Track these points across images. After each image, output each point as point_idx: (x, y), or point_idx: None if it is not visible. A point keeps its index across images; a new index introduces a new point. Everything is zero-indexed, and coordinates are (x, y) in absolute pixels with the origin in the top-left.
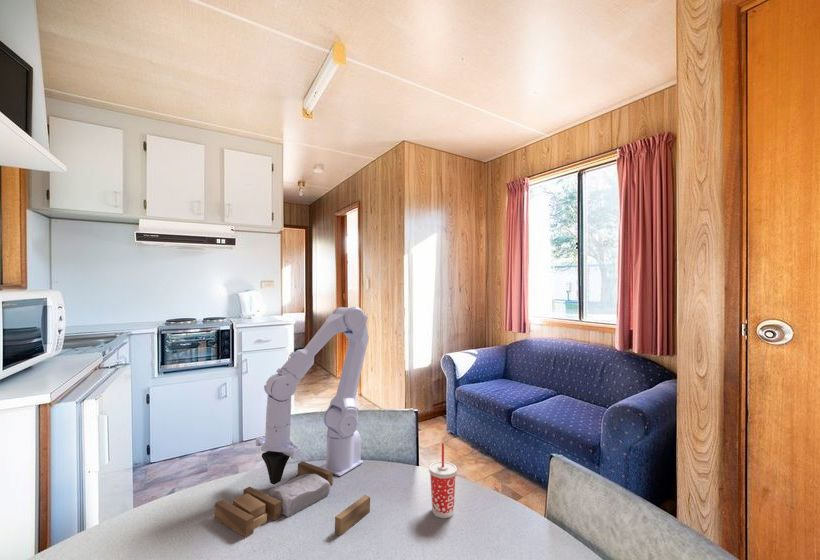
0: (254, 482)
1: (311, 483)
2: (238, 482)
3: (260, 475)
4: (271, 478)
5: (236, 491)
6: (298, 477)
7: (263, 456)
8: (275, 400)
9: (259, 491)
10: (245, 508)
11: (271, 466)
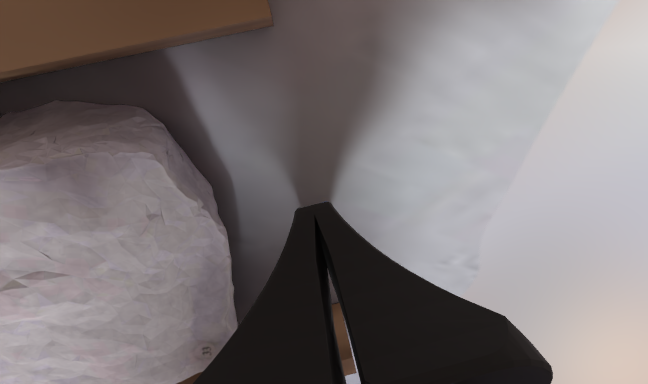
0: (456, 147)
1: (19, 368)
2: (544, 76)
3: (488, 195)
4: (309, 221)
5: (463, 13)
6: (215, 324)
7: (454, 357)
8: None
9: (76, 51)
10: None
11: (296, 294)
